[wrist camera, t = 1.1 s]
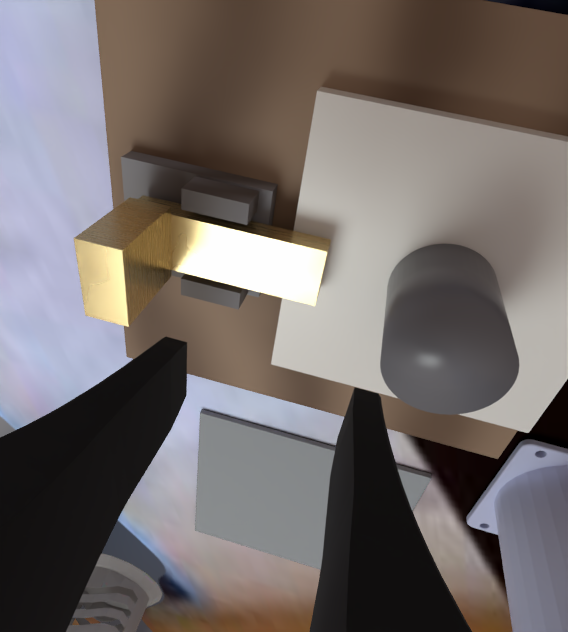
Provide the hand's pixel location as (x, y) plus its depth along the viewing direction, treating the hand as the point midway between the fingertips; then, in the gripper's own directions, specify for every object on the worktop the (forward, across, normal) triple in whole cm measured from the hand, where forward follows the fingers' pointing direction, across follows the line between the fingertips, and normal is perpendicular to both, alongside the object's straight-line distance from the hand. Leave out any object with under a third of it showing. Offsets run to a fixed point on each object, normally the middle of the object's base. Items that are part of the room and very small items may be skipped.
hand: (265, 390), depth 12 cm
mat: (+9, -2, +20) cm, 22 cm away
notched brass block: (+7, +3, 0) cm, 8 cm away
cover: (+8, -5, 0) cm, 10 cm away
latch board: (+9, -1, 0) cm, 9 cm away
